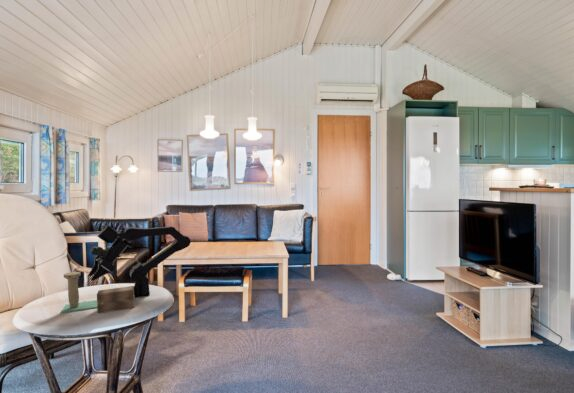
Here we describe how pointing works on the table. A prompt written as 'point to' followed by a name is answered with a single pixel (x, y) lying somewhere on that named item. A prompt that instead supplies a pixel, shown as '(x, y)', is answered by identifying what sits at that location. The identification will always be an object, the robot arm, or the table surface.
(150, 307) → the table surface
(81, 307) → the mat
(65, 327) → the table surface
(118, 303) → the cabinet
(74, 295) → the handle
